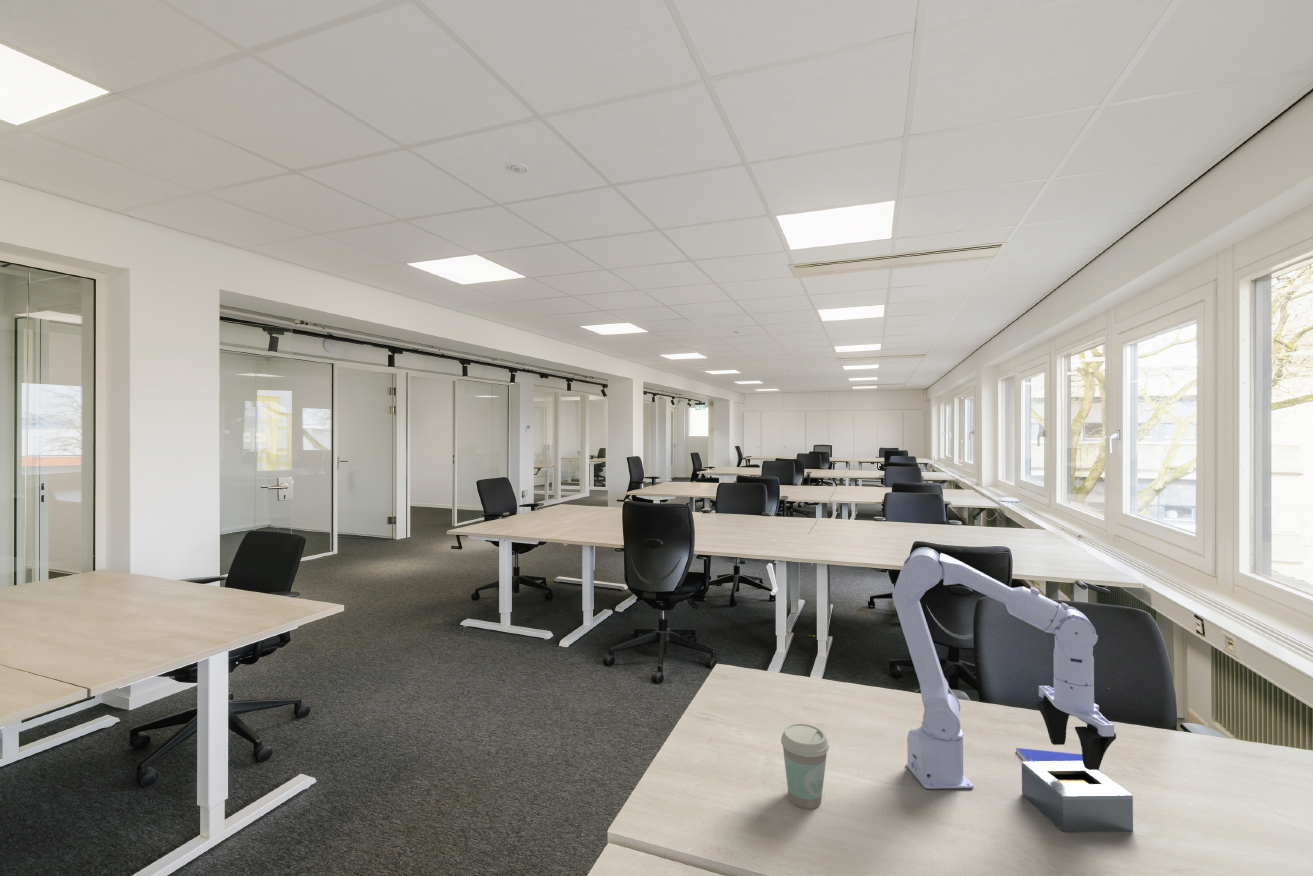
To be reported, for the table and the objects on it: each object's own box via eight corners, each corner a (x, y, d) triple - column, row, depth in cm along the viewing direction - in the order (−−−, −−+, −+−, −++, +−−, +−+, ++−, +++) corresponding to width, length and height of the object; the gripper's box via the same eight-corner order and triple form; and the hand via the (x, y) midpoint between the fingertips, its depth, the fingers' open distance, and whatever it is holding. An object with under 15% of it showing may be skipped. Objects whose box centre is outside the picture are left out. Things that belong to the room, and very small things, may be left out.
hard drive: (1035, 769, 107) (1106, 776, 105) (1015, 746, 115) (1081, 752, 113) (1035, 777, 107) (1106, 784, 105) (1016, 754, 115) (1081, 760, 113)
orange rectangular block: (1066, 814, 95) (1066, 788, 95) (1056, 805, 97) (1055, 780, 97) (1094, 814, 95) (1094, 788, 95) (1084, 805, 97) (1083, 780, 97)
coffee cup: (803, 820, 94) (803, 751, 94) (771, 792, 102) (771, 728, 102) (839, 805, 98) (839, 738, 98) (806, 779, 106) (805, 717, 106)
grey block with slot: (1063, 832, 91) (1062, 796, 91) (1021, 793, 101) (1021, 761, 101) (1133, 831, 91) (1132, 795, 91) (1084, 792, 101) (1084, 760, 101)
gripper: (1132, 697, 89) (1132, 780, 89) (1064, 662, 104) (1064, 733, 104) (1090, 698, 89) (1090, 781, 89) (1027, 662, 104) (1028, 734, 104)
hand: (1074, 755), depth 96 cm, fingers open, 7 cm apart
